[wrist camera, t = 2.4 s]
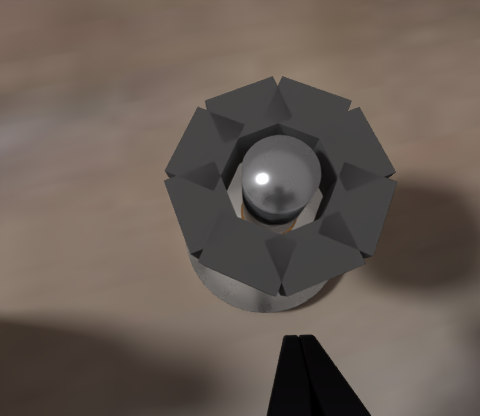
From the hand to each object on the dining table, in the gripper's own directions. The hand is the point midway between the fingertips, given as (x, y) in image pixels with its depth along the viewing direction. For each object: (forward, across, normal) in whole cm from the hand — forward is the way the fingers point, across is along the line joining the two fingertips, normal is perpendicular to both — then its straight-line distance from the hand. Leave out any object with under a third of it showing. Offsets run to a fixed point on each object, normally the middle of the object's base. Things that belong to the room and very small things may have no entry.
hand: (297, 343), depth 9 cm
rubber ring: (+7, 0, -1) cm, 7 cm away
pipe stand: (+13, 0, +6) cm, 14 cm away
